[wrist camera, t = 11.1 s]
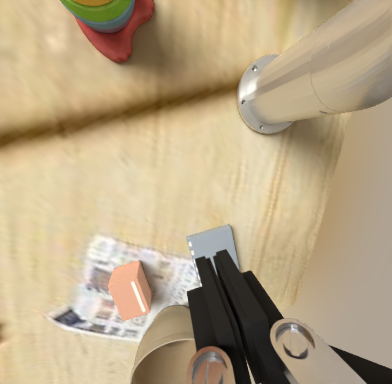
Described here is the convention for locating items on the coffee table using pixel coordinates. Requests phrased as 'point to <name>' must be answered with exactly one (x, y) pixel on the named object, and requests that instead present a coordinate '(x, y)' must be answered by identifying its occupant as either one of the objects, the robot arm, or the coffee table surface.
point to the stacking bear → (110, 23)
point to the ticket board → (212, 245)
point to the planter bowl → (165, 348)
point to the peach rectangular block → (130, 290)
